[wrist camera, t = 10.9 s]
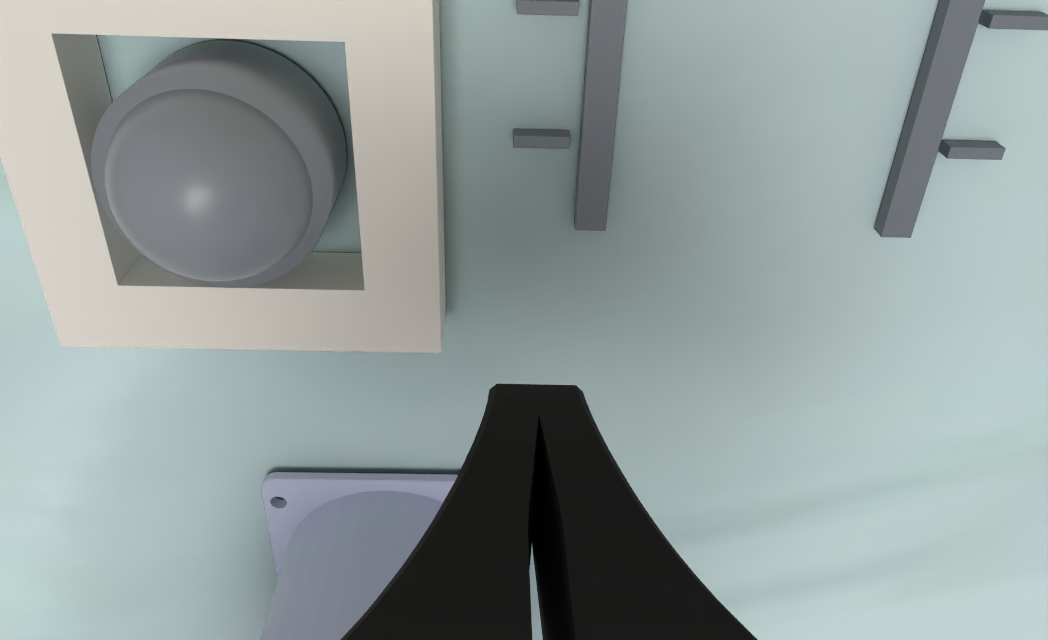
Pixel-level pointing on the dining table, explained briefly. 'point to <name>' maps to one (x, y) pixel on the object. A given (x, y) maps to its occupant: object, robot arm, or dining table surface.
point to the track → (916, 141)
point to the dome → (221, 164)
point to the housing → (245, 312)
